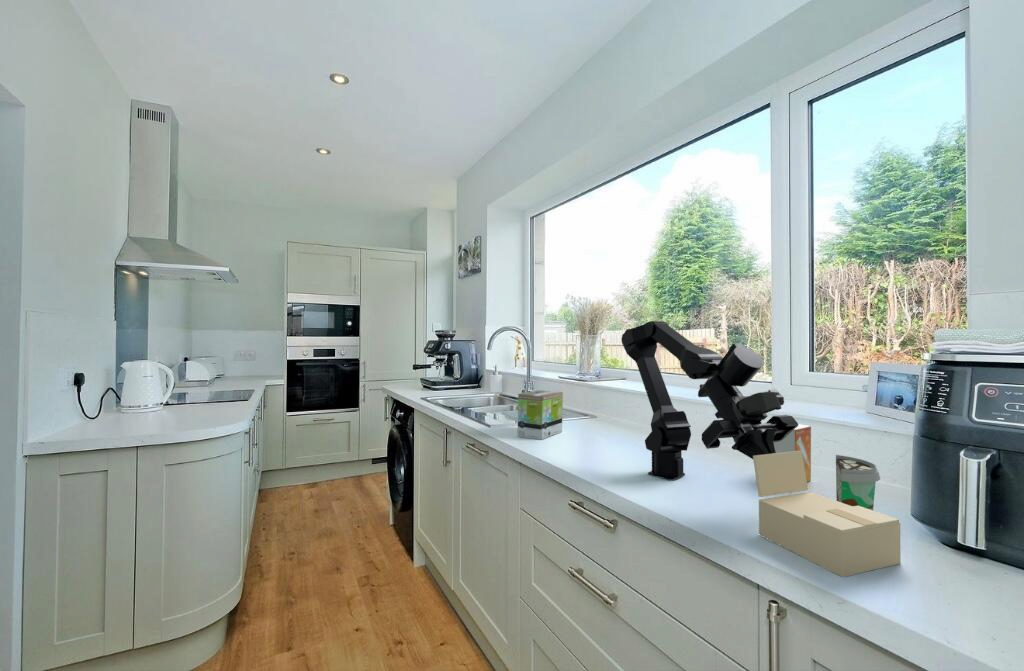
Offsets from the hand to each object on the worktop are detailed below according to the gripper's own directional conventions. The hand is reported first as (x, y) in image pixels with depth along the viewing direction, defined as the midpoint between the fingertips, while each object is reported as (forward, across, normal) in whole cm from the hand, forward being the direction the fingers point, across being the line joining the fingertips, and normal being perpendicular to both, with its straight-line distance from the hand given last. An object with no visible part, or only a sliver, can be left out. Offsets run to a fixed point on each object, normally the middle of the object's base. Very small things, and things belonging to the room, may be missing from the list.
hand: (777, 471), depth 79 cm
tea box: (-52, -12, +66) cm, 85 cm away
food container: (+8, +18, +6) cm, 21 cm away
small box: (-6, +25, +20) cm, 32 cm away
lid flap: (+1, 0, -1) cm, 1 cm away
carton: (+13, 0, +1) cm, 13 cm away
